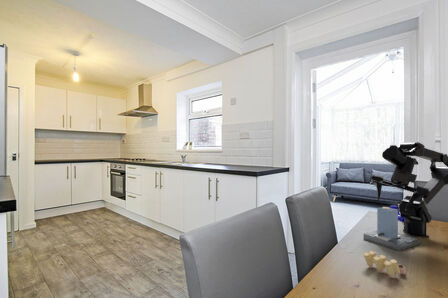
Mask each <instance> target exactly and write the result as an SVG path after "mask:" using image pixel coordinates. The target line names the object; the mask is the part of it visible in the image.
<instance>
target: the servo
mask: <svg viewBox="0 0 448 298" xmlns="http://www.w3.org/2000/svg"><path fill="white" fill-rule="evenodd" d="M398 211H399V209H398V210H397V209H393V208H390V206H382V207H377V213H376V215H377V216H376V217H377V222H376V224H377V227H376V228H377V230H376V231H377V235H374V237H377V238H380V239H383V240H386V241H394V240H397V239H398V238H400V237H401V236H400V235H398V233H399V220H398Z"/></svg>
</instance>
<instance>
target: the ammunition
mask: <svg viewBox="0 0 448 298" xmlns="http://www.w3.org/2000/svg"><path fill="white" fill-rule="evenodd" d="M362 255H363V257H364V260H365V263H366V265H367V267H368V268H370V269H373V266H374V265H375V267H376V270H377V272H379V273H381V274H383V273H384V269H385V270H386V273H387V275H388V276H389V277H390V279H395V274H399V273H400V274H401V275H406V267H405V266H404V265H403V264H398V261H397V259H393V258H392V259H388V260H387V257H386V255H384V254H380V255H377V254H376V252H375V250H370V251H369V252H368V251H364V252H363V253H362ZM373 264H374V265H373Z"/></svg>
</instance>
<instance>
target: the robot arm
mask: <svg viewBox="0 0 448 298" xmlns="http://www.w3.org/2000/svg"><path fill="white" fill-rule="evenodd" d="M381 155H382V158H383V159H384V160H385V161H387V162H388V163H390V164H391V165H393V166H394V169H393V173H392V174H391V178H390V180H388V179H385V178H384V177H385V176H382V175H379V174H375V173H374V174H372V175H371V179H370V183H372V184H373V186H375V187H376V191H377V202H379V201H380V199H381V195H382V194H381V193H382V187H383V184H384V185H387V186H391V187H393V188H397V189H400V190H405V191H408V192H411V193H412V195H406V196H405V197H404V198H403V199H402V200H400V203H399V205H398V211H399V213H400V215H401V217H404V218H405V221H404V222H403V229H402V231H403V232H404V233H405V234H406V235H408V236H411V237H421V238H430V235H429V234H427V224H430V223H431V221H432V215H431V214H430V213H429V209H428V204H430V202H431V201H432V200H433V199H434V198H435V196H437V194H439V192H440V191H441V190H442V189H443V188H444V187H445V186H446V185H448V154H447V153H443V152H439V151H437V150H433V149H430V148H426V147H425V145H424V144H422V143H420V142H419V141H416V142H413V141H412V142H411V141H410V142H401V143H400V144H399V145H398V146H397V145H396V144H390V145H389V147H387V148H386V149H384V150H383V152H382V154H381ZM416 158H420V159H424V160H428V161H430V162H431V164H430V166H429V170H430V175H431V178H430V179H429V180H428V181H427V182H426V184H425V185H423V186H419V185H417V186H416V187H413V186H409V184H410V183H413V184H415V183H416V179H417V177H418V175H417V174H415V173H413V171H414V168H415V166H418V165H419V161H418V160H417V159H416ZM436 163H442V164H443V165H444V166H437V165H436Z"/></svg>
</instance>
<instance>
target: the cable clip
mask: <svg viewBox="0 0 448 298" xmlns="http://www.w3.org/2000/svg"><path fill="white" fill-rule="evenodd" d="M389 208H393V209H397V210H398V215H400V216H398V219H399V220H401V221H402V223H404V221H405V218H404V217H401V214H400V211H399V205H389ZM399 220H398V221H399ZM401 221H400V222H401Z"/></svg>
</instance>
